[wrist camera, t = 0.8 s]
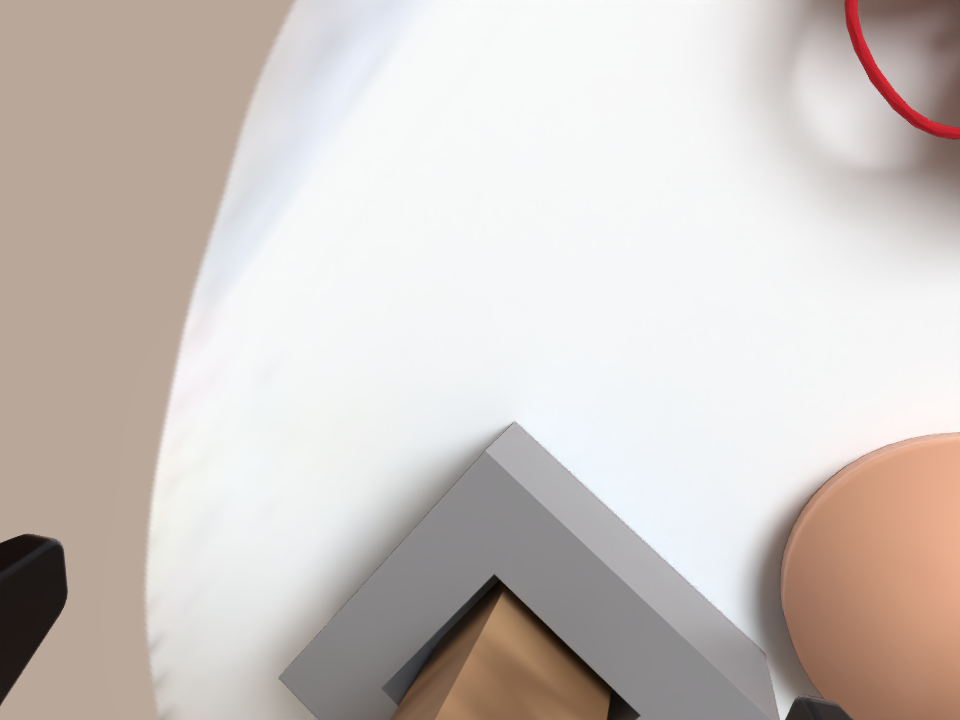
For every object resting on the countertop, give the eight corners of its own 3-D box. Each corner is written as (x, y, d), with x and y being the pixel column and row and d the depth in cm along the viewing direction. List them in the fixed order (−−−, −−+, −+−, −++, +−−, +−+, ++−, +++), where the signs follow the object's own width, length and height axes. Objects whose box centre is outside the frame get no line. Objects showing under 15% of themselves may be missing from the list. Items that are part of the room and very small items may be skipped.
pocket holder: (765, 653, 20) (781, 730, 17) (543, 834, 23) (521, 930, 20) (515, 421, 21) (484, 450, 18) (333, 620, 24) (278, 677, 21)
